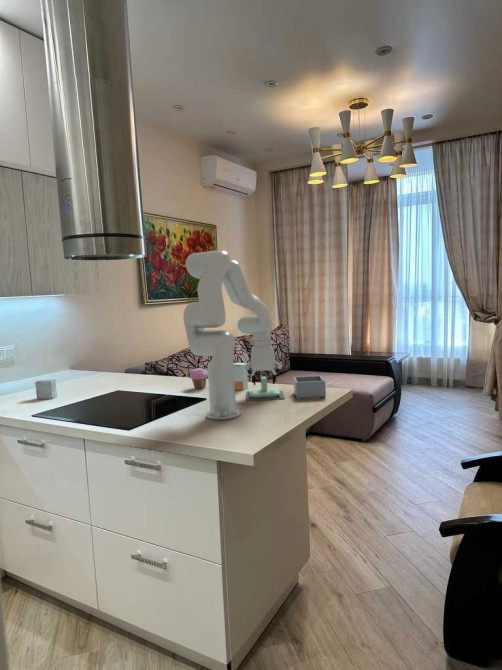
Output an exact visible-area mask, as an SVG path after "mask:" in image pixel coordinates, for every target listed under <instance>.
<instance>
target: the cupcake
mask: <svg viewBox="0 0 502 670" xmlns="http://www.w3.org/2000/svg"><path fill="white" fill-rule="evenodd" d="M189 378H190V379H191V381H192V384H193V388H194V389H195V390H203V389H205V388H206V386H207V380H208V370H206V369H205V368H200V367H197V368H194V369H191V371H190V372H189Z"/></svg>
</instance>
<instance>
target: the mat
mask: <svg viewBox="0 0 502 670" xmlns="http://www.w3.org/2000/svg"><path fill="white" fill-rule="evenodd" d="M245 394H246V395H245V402H254V401H255V402H256V401H274V400H275V401H276V399H279V400H285V395H284V392H283V390H282V391H280V395H277V397H260V398H253V396H252V397H249V390H247V391H246V393H245Z"/></svg>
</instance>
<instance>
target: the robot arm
mask: <svg viewBox="0 0 502 670" xmlns="http://www.w3.org/2000/svg"><path fill="white" fill-rule="evenodd" d="M241 266H242V265H241V264H240V263H239V262H238V261H236V260H234V259H233V260H232V259H231V257H230V254H229V253H228V252H227V251H225V250H209V251H203V252H195V253H191V254H189V255H188V256H187V258H186V259H185V268H186V270H187V272H188V273H189V275H190V276H192V277H193V278H195V279H198V280H199V281H198V284H197V285H198V286H197V296H198V297H197V298H198V301H193V302H190V303H188V304H187V305H186V306H185V308H184V309H183V324H184V329H185V334H186V339H187V345H188V347H189V350H190V352H191V353H192V354H194V355H195V356H200V357H211V360H210V361H209V364H208V366H207V373H208V377H207V380H208V392H209V395H208V396H209V397H208V398H209V410H208V411H207V412H206V413H205V414H206V418H207V419H211V420H217V421H218V420H223V421H224V420H230V419H235V418H237V417H239V416H240V415H241V410H240V409H238V408H237V406H236V389H235V384H234V367H233V364H234V354H235V348H236V340H235V337H234V335H233V334H232V333H231V331H227V330H223V329H214V328H220V327H222V326H224V325H225V323H226V322H227V321H226V320H227V314H226V309H225V303H224V297H223V291H222V286H224V288H225V291H226V293H227V294H228V297H229V299H230V300H229V301H231V302H232V303H233V304H234V305H237V306H239V307H242V308H244V309H247V310H250V311H251V312H252V313H254V314H255V315H244V316H242V317H240V318H239V320H238V321H237V329H238V331H240V333H242V334H244V335H252V339H253V340H252V341H249V345H250V346H252V347H251V350H250V351H251V353H250V354H251V355H250V356H251V357H250V359H251V360H250V361H249V362H248V363H247V365H245V366H244V368H245V369H246V371H247V374H249V375H250V376H251V383H252V384H253V386H256V372H257V371H258V372H259V371H271V373H272V384H273V385H275V383H276V382H277V374H278V373H279V372H280V370H281V369H282V367H283V364H282V363H281V362H280V361H278V360H276V357H275V351H274V350H275V349H274V347H273V346H272V340H271V338H272V337H271V336H272V335H271V331H272V329H273V319H272V316H271V313H270V310H269V308H268V307H267V304H265V303H264V302H263V300H261V299H260V298H259V297H258V296H256V295H255V294H254V293H252V292H251V289H250V288H249V287H250V286H249V285H248V282H247V279H246V277H245V275H244V272H243V271H244V270H243V269H242V267H241ZM205 329H206V330H205ZM207 329H208V330H207ZM209 329H211V330H209ZM212 329H213V330H212ZM276 365H277V368H276ZM250 366H251V369H250V368H249V367H250Z"/></svg>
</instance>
